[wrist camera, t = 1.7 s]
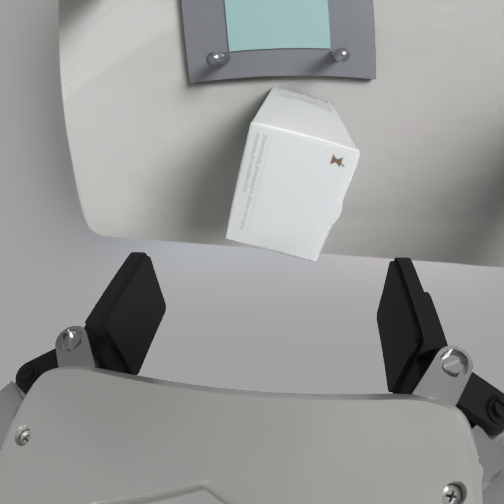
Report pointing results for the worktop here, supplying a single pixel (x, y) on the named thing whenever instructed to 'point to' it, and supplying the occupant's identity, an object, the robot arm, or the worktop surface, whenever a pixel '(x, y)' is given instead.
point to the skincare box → (292, 176)
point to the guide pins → (224, 57)
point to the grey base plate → (279, 38)
